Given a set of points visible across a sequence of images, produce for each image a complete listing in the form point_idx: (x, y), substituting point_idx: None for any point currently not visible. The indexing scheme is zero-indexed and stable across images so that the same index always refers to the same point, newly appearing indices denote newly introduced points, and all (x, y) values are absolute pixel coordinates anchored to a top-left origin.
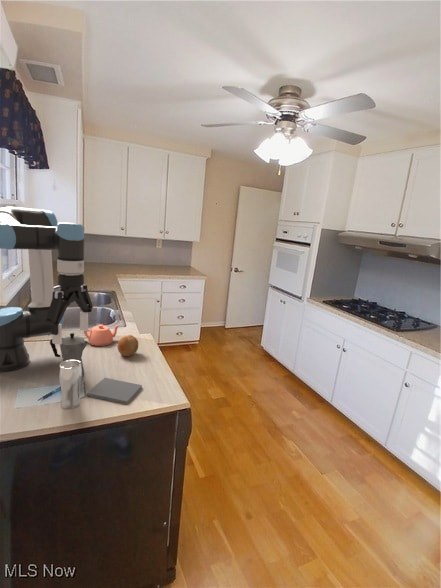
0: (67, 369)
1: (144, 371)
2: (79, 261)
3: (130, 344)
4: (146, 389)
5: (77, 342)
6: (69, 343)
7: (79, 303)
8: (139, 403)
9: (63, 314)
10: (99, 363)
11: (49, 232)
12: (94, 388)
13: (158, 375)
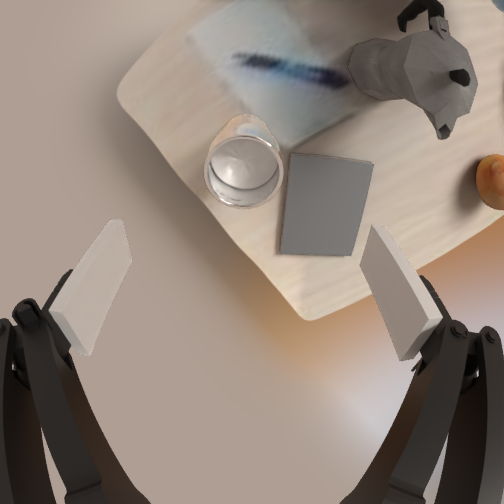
0: (207, 184)
1: (417, 232)
2: None
3: (493, 199)
4: (344, 261)
5: (432, 103)
6: (417, 75)
7: (395, 440)
8: (289, 267)
9: (94, 416)
10: None
11: None
12: (316, 163)
13: None
